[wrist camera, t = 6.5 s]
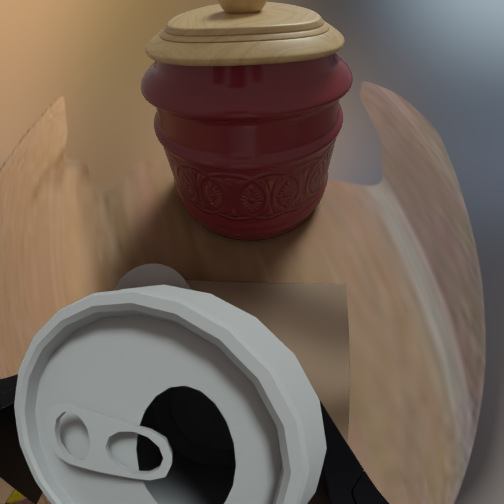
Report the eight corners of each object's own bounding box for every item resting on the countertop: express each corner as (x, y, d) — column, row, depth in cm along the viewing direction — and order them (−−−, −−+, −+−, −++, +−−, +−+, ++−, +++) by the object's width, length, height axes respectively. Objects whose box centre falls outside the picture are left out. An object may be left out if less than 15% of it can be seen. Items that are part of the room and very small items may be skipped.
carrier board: (336, 496, 12) (346, 510, 10) (116, 475, 13) (99, 483, 10) (340, 282, 19) (351, 268, 17) (132, 276, 20) (117, 261, 18)
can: (282, 464, 12) (327, 596, 1) (156, 453, 12) (12, 515, 1) (284, 345, 15) (343, 253, 5) (161, 340, 16) (18, 250, 5)
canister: (270, 276, 20) (288, -7, 4) (152, 198, 24) (77, 18, 8) (345, 171, 24) (391, -4, 9) (238, 123, 28) (227, -27, 12)
